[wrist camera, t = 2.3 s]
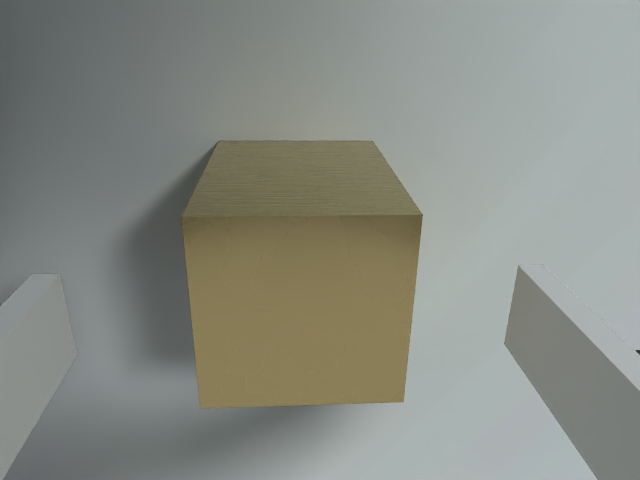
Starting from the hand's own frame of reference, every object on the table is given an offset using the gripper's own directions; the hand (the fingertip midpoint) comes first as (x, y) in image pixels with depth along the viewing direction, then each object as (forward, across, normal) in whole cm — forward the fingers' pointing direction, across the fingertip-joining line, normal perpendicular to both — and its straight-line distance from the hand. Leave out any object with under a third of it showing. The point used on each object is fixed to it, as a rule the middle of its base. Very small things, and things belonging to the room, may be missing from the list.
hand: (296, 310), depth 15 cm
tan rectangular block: (+7, 0, 0) cm, 7 cm away
